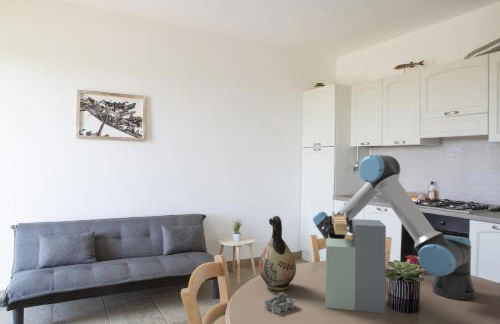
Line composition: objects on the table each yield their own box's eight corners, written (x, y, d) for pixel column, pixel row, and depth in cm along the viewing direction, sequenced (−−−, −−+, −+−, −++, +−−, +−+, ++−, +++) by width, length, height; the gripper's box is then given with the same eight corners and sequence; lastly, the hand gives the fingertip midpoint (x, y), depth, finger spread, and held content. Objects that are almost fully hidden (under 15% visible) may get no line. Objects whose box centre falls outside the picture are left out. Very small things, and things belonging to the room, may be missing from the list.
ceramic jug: (256, 281, 155) (257, 212, 155) (291, 280, 156) (292, 212, 157) (261, 295, 138) (263, 218, 138) (300, 294, 140) (301, 218, 140)
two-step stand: (325, 293, 140) (326, 218, 141) (378, 298, 136) (379, 220, 137) (325, 307, 127) (326, 223, 127) (384, 313, 123) (385, 226, 123)
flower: (422, 272, 165) (426, 257, 168) (401, 265, 170) (406, 250, 173) (421, 279, 172) (425, 264, 175) (401, 272, 177) (406, 257, 180)
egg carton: (283, 301, 132) (283, 290, 133) (297, 308, 126) (298, 296, 127) (261, 308, 126) (261, 296, 126) (275, 315, 120) (275, 303, 120)
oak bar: (333, 223, 150) (333, 213, 150) (343, 223, 149) (343, 214, 149) (335, 234, 126) (335, 222, 126) (346, 234, 125) (347, 223, 125)
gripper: (317, 225, 165) (317, 205, 145) (356, 227, 161) (361, 207, 141) (317, 241, 161) (317, 222, 141) (356, 243, 158) (362, 225, 138)
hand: (339, 215), depth 141 cm, fingers closed on oak bar, 4 cm apart
